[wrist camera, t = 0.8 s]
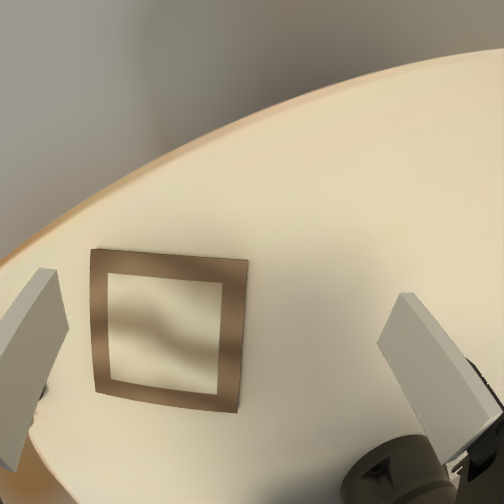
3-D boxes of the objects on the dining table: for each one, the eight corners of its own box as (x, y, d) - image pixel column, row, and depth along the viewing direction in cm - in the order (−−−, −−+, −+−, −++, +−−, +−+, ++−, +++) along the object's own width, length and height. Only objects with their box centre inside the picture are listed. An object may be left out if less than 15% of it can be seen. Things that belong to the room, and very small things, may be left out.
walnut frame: (237, 406, 32) (237, 413, 30) (100, 386, 31) (95, 392, 30) (247, 260, 31) (247, 261, 29) (97, 248, 31) (90, 249, 29)
